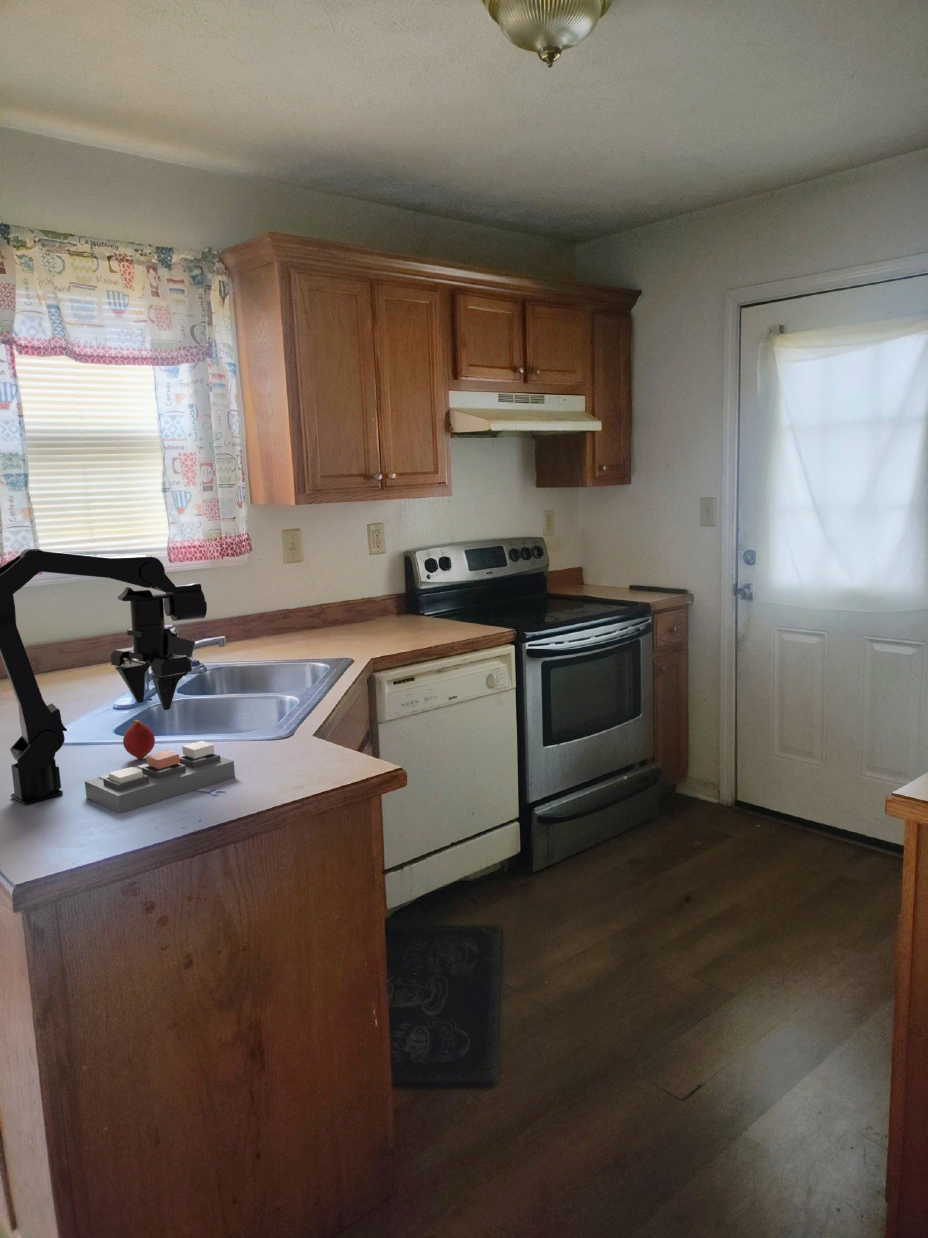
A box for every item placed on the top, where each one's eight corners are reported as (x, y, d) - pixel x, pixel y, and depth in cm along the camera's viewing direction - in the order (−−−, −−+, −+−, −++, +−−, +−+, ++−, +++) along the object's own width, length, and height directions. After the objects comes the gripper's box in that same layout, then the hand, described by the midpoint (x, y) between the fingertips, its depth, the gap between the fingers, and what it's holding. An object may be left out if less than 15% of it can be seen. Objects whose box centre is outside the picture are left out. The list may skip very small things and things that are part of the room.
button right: (194, 758, 154) (194, 750, 154) (182, 754, 157) (182, 746, 156) (214, 753, 157) (213, 744, 157) (202, 749, 160) (201, 740, 159)
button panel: (120, 813, 141) (117, 790, 140) (86, 797, 149) (84, 775, 148) (235, 776, 157) (233, 755, 157) (199, 764, 165) (197, 744, 164)
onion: (146, 752, 174) (142, 714, 173) (162, 757, 170) (158, 718, 169) (119, 760, 170) (115, 721, 168) (135, 765, 166) (131, 725, 165)
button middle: (158, 769, 149) (157, 760, 149) (147, 764, 152) (146, 755, 151) (179, 763, 152) (178, 754, 152) (167, 758, 154) (167, 750, 154)
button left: (120, 787, 144) (119, 777, 144) (109, 782, 147) (108, 773, 146) (143, 780, 147) (142, 771, 147) (131, 775, 150) (130, 767, 149)
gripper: (215, 622, 159) (219, 705, 161) (160, 614, 171) (165, 691, 173) (160, 630, 150) (165, 717, 152) (106, 621, 162) (112, 702, 164)
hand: (153, 706), depth 161 cm, fingers open, 9 cm apart
